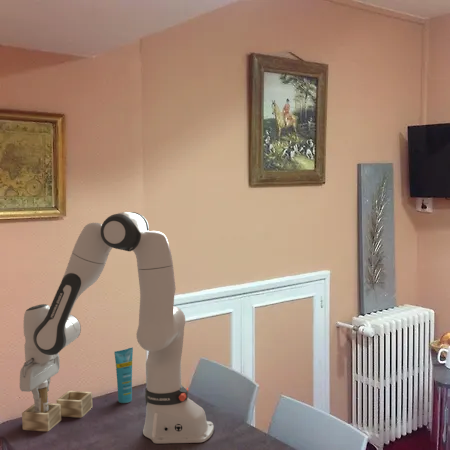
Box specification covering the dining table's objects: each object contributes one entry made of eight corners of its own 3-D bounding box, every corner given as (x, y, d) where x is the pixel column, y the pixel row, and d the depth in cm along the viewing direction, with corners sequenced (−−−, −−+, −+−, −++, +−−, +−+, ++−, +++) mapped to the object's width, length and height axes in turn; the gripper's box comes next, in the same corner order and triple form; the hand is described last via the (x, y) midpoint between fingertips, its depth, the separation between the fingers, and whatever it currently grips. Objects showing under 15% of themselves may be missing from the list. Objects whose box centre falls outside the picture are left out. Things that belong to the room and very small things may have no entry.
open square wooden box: (61, 420, 198) (60, 403, 198) (48, 431, 190) (47, 414, 189) (36, 418, 200) (35, 402, 200) (22, 429, 191) (21, 412, 191)
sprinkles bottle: (51, 421, 194) (49, 381, 193) (37, 424, 192) (35, 384, 191) (47, 416, 198) (45, 377, 197) (33, 419, 196) (31, 380, 194)
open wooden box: (92, 407, 209) (91, 392, 209) (81, 417, 200) (81, 401, 200) (68, 406, 211) (68, 390, 210) (57, 416, 202) (56, 400, 202)
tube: (120, 405, 210) (118, 352, 209) (112, 402, 214) (110, 350, 212) (137, 399, 216) (135, 348, 214) (129, 396, 219) (128, 345, 218)
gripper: (31, 364, 182) (34, 407, 183) (62, 345, 202) (64, 385, 203) (13, 363, 184) (15, 406, 185) (45, 345, 204) (47, 384, 205)
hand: (41, 395), depth 194 cm, fingers closed on sprinkles bottle, 4 cm apart
